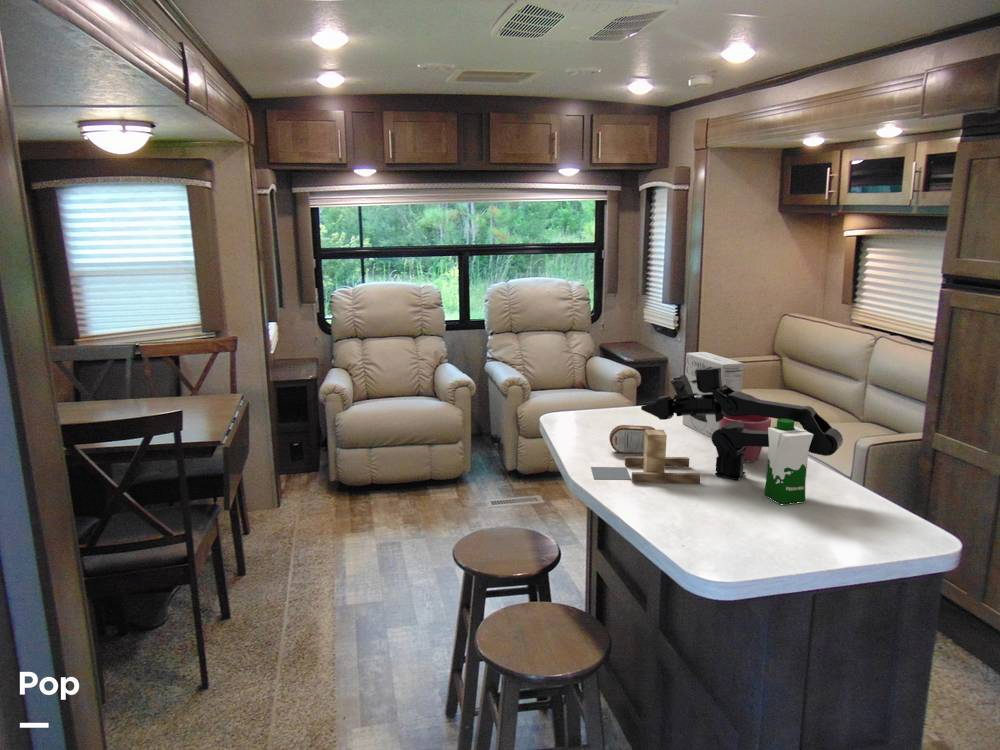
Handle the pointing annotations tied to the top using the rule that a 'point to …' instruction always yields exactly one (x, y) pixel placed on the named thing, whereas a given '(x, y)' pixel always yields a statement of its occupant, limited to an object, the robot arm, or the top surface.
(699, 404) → the robot arm
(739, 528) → the top surface
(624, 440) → the tin
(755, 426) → the plant pot
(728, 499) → the top surface
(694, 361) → the cereal box
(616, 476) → the mat
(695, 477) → the plinth rails
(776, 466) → the milk carton
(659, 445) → the oak block
